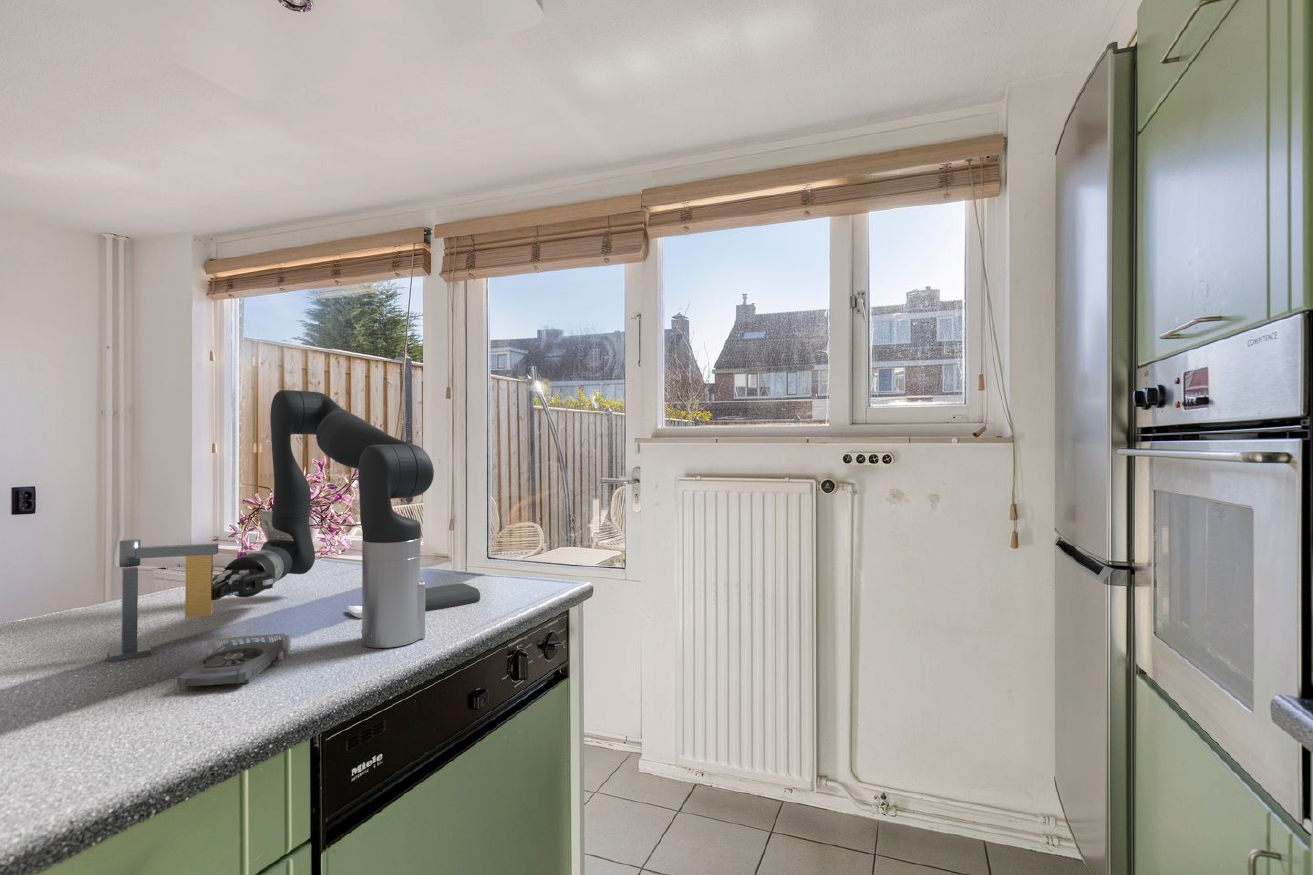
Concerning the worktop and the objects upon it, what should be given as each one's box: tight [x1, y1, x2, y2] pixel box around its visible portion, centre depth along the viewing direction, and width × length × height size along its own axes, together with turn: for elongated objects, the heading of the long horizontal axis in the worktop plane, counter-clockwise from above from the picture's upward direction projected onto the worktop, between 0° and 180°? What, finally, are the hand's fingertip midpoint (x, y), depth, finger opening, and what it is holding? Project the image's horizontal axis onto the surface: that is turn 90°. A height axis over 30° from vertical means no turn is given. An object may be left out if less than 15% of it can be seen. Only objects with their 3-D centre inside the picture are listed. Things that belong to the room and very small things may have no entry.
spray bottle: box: [346, 582, 481, 619], centre depth 134 cm, size 3×11×24 cm
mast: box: [106, 566, 152, 663], centre depth 103 cm, size 5×5×14 cm
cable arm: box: [118, 538, 219, 619], centre depth 105 cm, size 13×3×13 cm, turn 112°
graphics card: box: [176, 632, 292, 688], centre depth 96 cm, size 17×4×12 cm
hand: (210, 594), depth 108 cm, fingers closed
